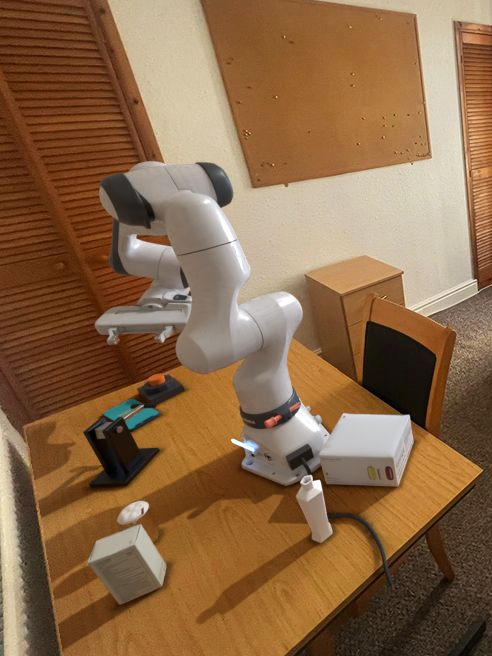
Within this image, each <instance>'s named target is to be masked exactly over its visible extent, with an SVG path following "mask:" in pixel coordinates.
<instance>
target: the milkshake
mask: <svg viewBox="0 0 492 656" xmlns="http://www.w3.org/2000/svg"><path fill="white" fill-rule="evenodd" d="M116 522H117V523H118V525H119V526H120V527H121V528H122V530H125V529H128V528H131V527H133V526H136V525H139V524H141V525H142V527H143V528H144V530H145V531H146V533H147V535H148V536H149V538H150V539H151V541H152V542H153V544H154V543H156V541H157V540H158V538H159V536H160V535H159V530H158V528H157V524H156V521H155V520H154V517H153V514H152V510H151V507H150V504H149V502H147V501H145V500H137V501H134V502H131V503H130V504H128V505H126V506H125V507H124V508H123V509H122V510H120V513H119V514H118V516H117V518H116Z"/></svg>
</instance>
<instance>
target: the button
mask: <svg viewBox="0 0 492 656" xmlns="http://www.w3.org/2000/svg"><path fill="white" fill-rule="evenodd" d="M164 375H165V374H164V373H160V372H159V373H154V374H153V375H151V376H149V377H148V378H147V382H149V384H150V386H157V385H160V384H162V383H164V382H165V381H166V380H165V377H164Z"/></svg>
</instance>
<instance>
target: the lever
mask: <svg viewBox="0 0 492 656" xmlns="http://www.w3.org/2000/svg"><path fill="white" fill-rule="evenodd" d="M157 405H158V404H156V403H148V402H147V403H144V402H143V404H132V405H131V406H130V408H131V409H133V410H132V411H130V412H128V413H127V414H125V415H124V416H122V417H123V418H124V420H125V421H127V420H128V419H130V418H131V417H133V416H134V415H136V414H137V413H139V412H140V411H142V410H143V409H145V408H152V409H155V408H156V407H157ZM112 422H113V421H107V422H106V423H104V424H103V425H101V426H99V427H98V428H96V429H95V433H96V437H97V439H105V436H104V434H103V433H102V431H103V430H104V429H105V428H106V427H107V426H108V425H110V424H111V423H112Z"/></svg>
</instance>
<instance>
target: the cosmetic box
mask: <svg viewBox="0 0 492 656" xmlns="http://www.w3.org/2000/svg"><path fill="white" fill-rule="evenodd" d="M87 564H88V566H89V567H90V568H91V570H92V571H93V572H94V574H96V576H97V578H98V580H100V581H101V583H102V584H103V585H104V587H105V588H106V589H107V591H108V593H110V595H111V596H112V597H113V598H114V600H115V601H116V603H117V604H118V605H120V606H121V605H123V604H125V603H128V602H130V601H132V600H135V599H137V598H139V597H142V596H144V595H146V594H149V593H151V592H153V591H155V590H158V589H160V588H161V587H163V584H164V579H165V576H166V571H167V567H168V566H167V563H166V562H165V560H164V558H163V557H162V555H161V553H160V552H159V550H158V548H157V547H156V545H155V544H154V543H153V542H152V541H151V539H150V538H149V536H148V535H147V533H146V531H145V530H144V528H143V527H142V525H141V524H139V525H136V526H133V527H131V528H128V529H125V530H124V529H122V530H121V531H117V532H115V533H113V534H110V535H107V536H105V537H102V538H99V539H97V540H96V541H95V544H94V546H93V548H92V551H91V553H90V555H89V558H88V560H87Z"/></svg>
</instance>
